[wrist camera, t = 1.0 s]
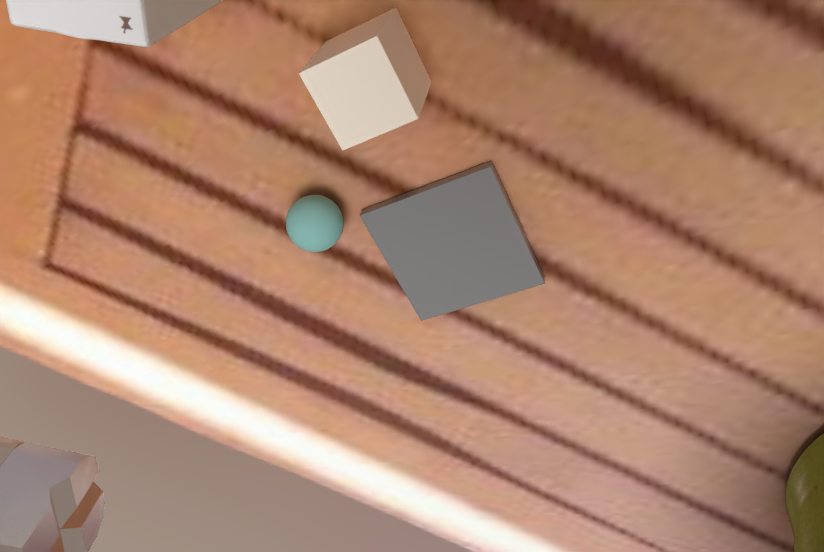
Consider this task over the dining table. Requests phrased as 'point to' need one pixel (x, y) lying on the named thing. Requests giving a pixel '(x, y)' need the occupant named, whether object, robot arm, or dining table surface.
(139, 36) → the skincare box
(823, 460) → the plant pot
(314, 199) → the teal ball
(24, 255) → the dining table surface
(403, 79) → the cream block
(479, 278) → the slate coaster
